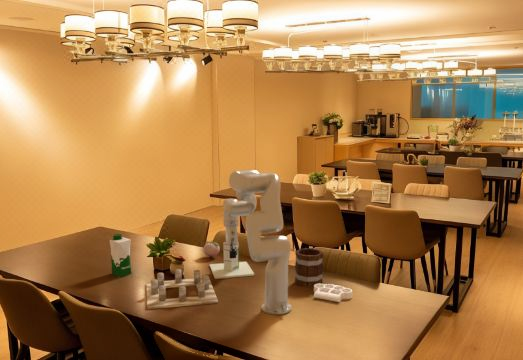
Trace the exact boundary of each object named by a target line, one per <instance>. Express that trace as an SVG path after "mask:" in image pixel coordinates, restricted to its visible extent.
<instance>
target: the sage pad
mask: <svg viewBox="0 0 523 360" xmlns="http://www.w3.org/2000/svg"><path fill="white" fill-rule="evenodd" d="M209 268H210V270H211V273H212V275H213V278H214V280H218V279H229V278H243V277H244V278H245V277H253V276H254V277H255V272H254V271H253V270H252V268H251V266H250V265H249V263H248V262H247V261H239V268H238V269H236V270H233V271H229V270H226V269H224V262H222V263H211V264H210V263H209Z"/></svg>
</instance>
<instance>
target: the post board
mask: <svg viewBox="0 0 523 360" xmlns="http://www.w3.org/2000/svg"><path fill="white" fill-rule="evenodd" d="M174 272H175V273H174V277H175V278H174V280H173V279H172V280H165V274H164V273H163V272H158V273H156V278H155V279H151V280H150V281H149V282H147V281H146V284H145V285H146V306H147V310H157V309H168V308H177V307H178V308H179V307H188V306H189V307H190V306H200V305H208V304H209V305H210V304H218V303H219V300H218V297H217V295H216V292H215V289H214V287H213V285H212V282H211V279H210V276H209V275H207V274H206V275H202V276H201V270H200V269H195V270H193V278H184V279H182V276H183V275H182V268H181V269H180V268H178V269H175V270H174ZM193 286H194V287H195V286H196V290H197V296H187V288H186V287H193ZM169 288H178V297H176V298H167V292H166V290H167V289H169Z"/></svg>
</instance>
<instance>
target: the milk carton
mask: <svg viewBox="0 0 523 360" xmlns="http://www.w3.org/2000/svg"><path fill="white" fill-rule="evenodd" d="M112 236H113V237H112V239H109V240H108V241H109V245H110V255H111V256H110V259H111V275H112V276H116V277H119V278H122V277H125V276H128V275H132V265H131V250H130V249H131V241H132V239H131V238H127V237H123V236H122V234H120V233H116V234H113V235H112Z"/></svg>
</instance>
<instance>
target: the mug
mask: <svg viewBox="0 0 523 360" xmlns="http://www.w3.org/2000/svg"><path fill="white" fill-rule="evenodd" d="M294 252H295V263H294V267H295V277H294V282H295V283H296V284H298V285H297V286H302V287H305V286H306V288H312V287H311V286H314V285H315V284H319V283H322V284H324V283H323V271H324V270H323V269H324V265H323V263H324V262H323V258H324V257H323V256H324V252H323V251H322V250H321V249H316V248H312V247H310V248H309V247H308V248H307V247H306V248H299V249H298V250H295V251H294Z"/></svg>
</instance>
